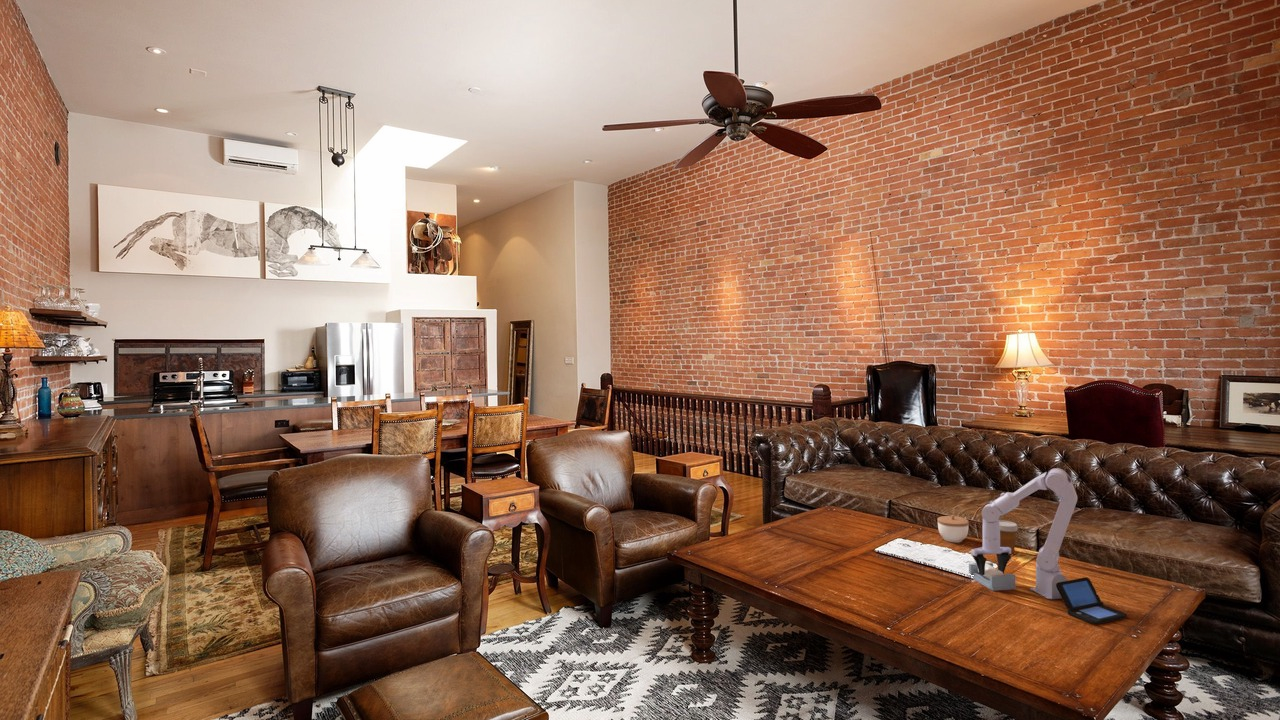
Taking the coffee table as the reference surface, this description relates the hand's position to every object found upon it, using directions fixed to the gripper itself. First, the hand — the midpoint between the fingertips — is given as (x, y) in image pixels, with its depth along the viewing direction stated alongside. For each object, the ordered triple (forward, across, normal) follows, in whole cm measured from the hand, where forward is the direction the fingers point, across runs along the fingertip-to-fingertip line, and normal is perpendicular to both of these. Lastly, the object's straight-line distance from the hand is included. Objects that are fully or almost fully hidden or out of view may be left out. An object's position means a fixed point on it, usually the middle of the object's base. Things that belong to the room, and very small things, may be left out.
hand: (991, 573), depth 237 cm
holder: (+3, 0, 0) cm, 3 cm away
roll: (+2, 0, 0) cm, 2 cm away
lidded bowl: (+4, -15, -48) cm, 50 cm away
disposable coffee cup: (+4, -27, -30) cm, 41 cm away
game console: (+4, -15, +29) cm, 33 cm away
